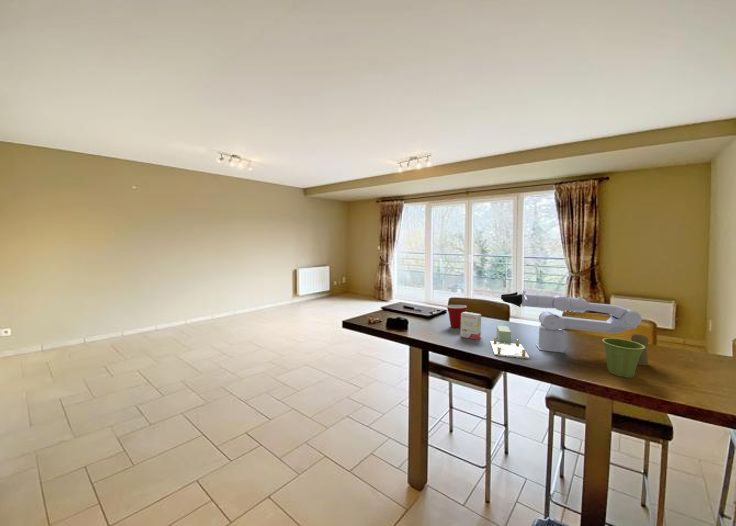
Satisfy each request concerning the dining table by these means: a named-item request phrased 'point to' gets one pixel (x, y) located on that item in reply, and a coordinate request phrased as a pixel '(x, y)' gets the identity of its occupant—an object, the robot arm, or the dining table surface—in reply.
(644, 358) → the grey upright block
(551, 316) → the robot arm
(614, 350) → the plant pot
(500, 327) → the board block
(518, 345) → the chassis plate
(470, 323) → the ink box
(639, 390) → the dining table surface
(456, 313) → the plastic cup
